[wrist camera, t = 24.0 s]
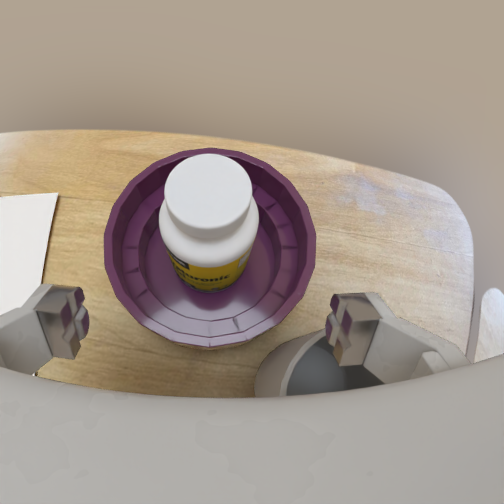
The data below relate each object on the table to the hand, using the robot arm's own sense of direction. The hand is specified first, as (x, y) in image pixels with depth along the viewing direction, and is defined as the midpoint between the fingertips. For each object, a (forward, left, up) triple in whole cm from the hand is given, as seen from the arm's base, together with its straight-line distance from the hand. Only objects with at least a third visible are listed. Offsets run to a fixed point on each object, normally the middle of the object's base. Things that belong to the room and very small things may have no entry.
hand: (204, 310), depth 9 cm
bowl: (+4, -4, -12) cm, 14 cm away
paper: (+16, +16, -12) cm, 25 cm away
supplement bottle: (+4, -4, -12) cm, 14 cm away
